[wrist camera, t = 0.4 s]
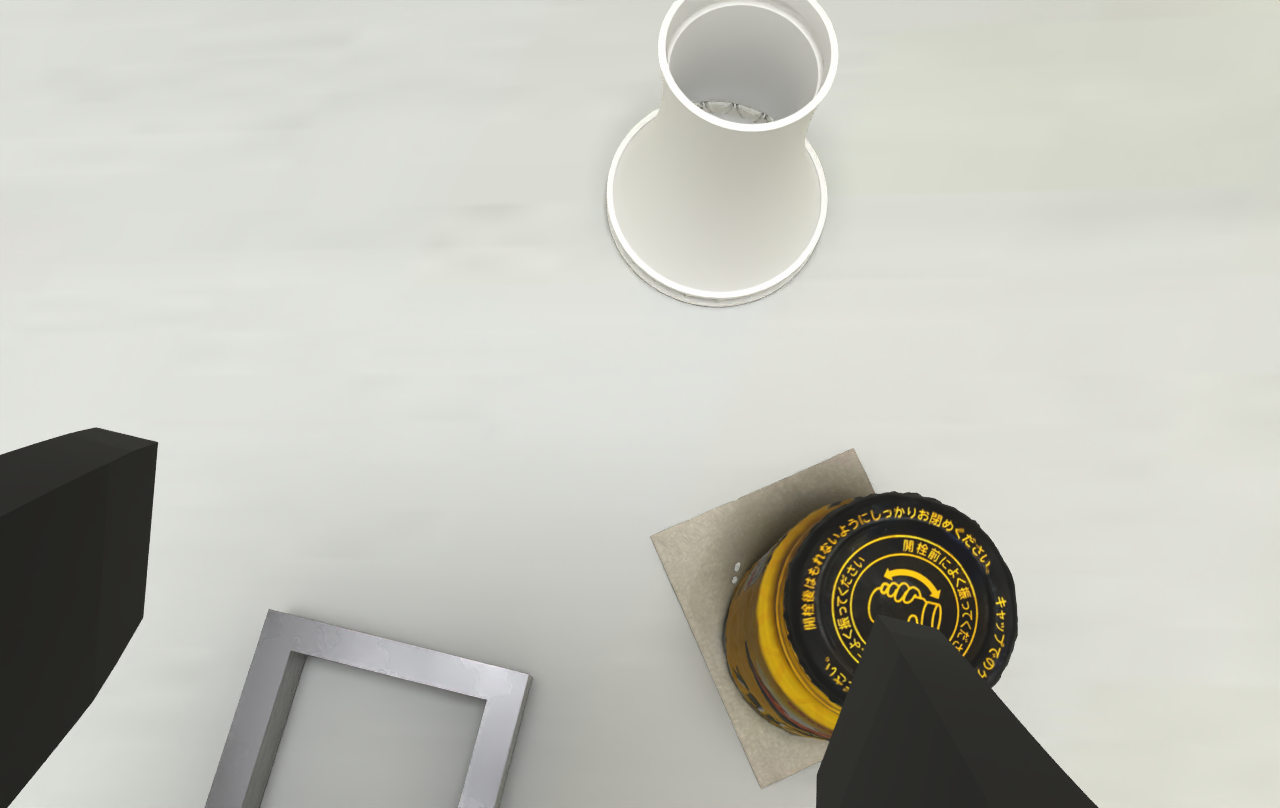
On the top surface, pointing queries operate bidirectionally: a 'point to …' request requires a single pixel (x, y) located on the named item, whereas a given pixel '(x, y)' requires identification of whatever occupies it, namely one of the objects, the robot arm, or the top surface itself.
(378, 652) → the rack frame
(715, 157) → the vase
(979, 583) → the condiment
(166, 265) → the top surface
